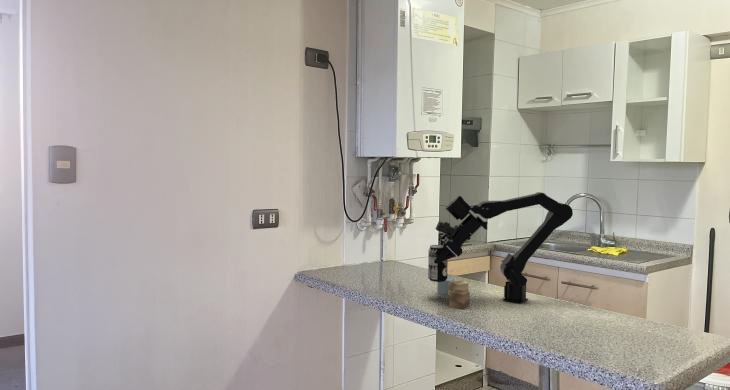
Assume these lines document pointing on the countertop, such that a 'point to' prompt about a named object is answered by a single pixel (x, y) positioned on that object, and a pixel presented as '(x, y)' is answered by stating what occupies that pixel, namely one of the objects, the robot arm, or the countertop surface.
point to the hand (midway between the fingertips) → (433, 261)
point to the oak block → (457, 286)
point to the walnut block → (459, 299)
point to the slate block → (444, 286)
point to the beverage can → (436, 265)
